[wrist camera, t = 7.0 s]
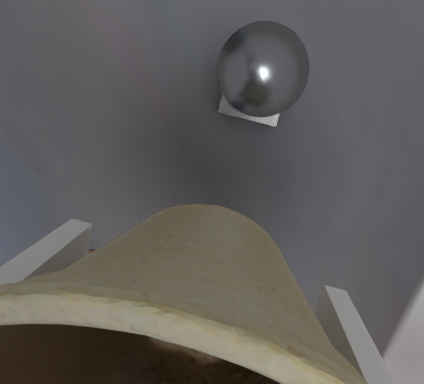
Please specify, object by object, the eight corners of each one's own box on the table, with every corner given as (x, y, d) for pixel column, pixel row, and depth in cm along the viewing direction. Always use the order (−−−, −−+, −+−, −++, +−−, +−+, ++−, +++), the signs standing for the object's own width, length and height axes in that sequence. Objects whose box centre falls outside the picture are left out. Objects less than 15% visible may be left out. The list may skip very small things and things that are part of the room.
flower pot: (59, 348, 14) (-219, 718, 6) (97, 120, 11) (-313, 174, 3) (282, 414, 14) (341, 903, 5) (373, 198, 11) (758, 487, 3)
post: (233, 52, 25) (216, -12, 11) (291, 66, 25) (344, 18, 11) (219, 111, 26) (188, 117, 13) (274, 125, 26) (304, 147, 12)
